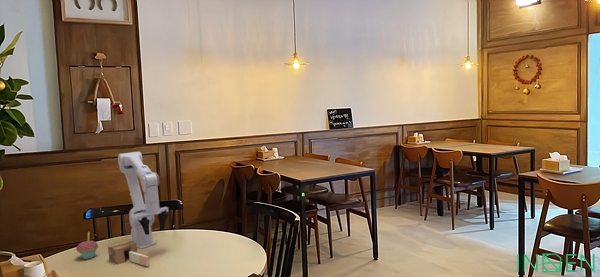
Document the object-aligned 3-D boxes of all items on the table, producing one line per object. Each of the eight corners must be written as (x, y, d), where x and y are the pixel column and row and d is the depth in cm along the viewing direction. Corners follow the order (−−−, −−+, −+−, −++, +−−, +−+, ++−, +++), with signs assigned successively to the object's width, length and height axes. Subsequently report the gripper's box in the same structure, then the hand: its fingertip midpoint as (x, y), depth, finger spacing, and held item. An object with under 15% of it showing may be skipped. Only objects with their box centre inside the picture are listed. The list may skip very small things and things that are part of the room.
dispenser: (109, 260, 189) (107, 246, 188) (128, 253, 196) (127, 240, 195) (119, 264, 184) (117, 249, 183) (138, 256, 191) (137, 243, 191)
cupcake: (103, 254, 196) (100, 228, 195) (87, 262, 189) (84, 234, 187) (89, 252, 200) (86, 226, 198) (73, 259, 192) (70, 232, 191)
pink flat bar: (129, 260, 186) (128, 252, 186) (132, 259, 187) (131, 251, 187) (147, 266, 179) (146, 257, 178) (149, 265, 180) (148, 256, 179)
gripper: (142, 206, 183) (145, 238, 185) (171, 198, 195) (174, 228, 196) (132, 204, 187) (135, 235, 189) (161, 196, 199) (164, 226, 201)
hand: (154, 231), depth 193 cm, fingers open, 7 cm apart
